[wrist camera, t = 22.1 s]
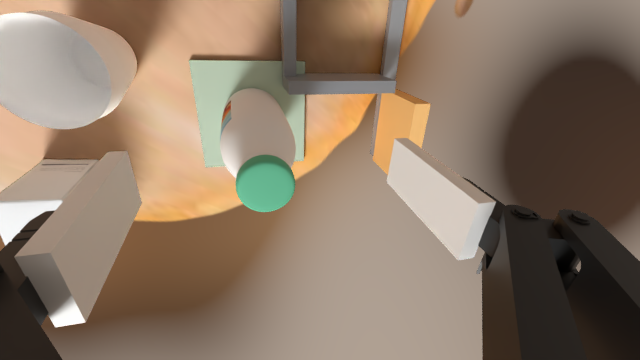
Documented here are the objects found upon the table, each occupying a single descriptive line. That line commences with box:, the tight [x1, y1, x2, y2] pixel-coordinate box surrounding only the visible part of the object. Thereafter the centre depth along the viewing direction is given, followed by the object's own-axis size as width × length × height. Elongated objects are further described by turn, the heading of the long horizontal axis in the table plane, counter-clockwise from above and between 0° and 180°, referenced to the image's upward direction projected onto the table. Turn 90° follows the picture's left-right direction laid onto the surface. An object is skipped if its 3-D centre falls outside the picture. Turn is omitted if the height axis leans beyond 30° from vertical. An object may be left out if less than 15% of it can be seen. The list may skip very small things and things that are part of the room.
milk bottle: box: [220, 88, 296, 212], centre depth 31 cm, size 8×8×20 cm
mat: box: [189, 60, 305, 167], centre depth 40 cm, size 14×14×1 cm
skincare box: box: [0, 159, 99, 246], centre depth 35 cm, size 10×6×10 cm, turn 173°
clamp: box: [280, 0, 407, 156], centre depth 38 cm, size 25×16×6 cm, turn 178°
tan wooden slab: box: [373, 89, 430, 175], centre depth 40 cm, size 11×3×10 cm, turn 177°
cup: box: [0, 11, 137, 129], centre depth 28 cm, size 9×9×12 cm
